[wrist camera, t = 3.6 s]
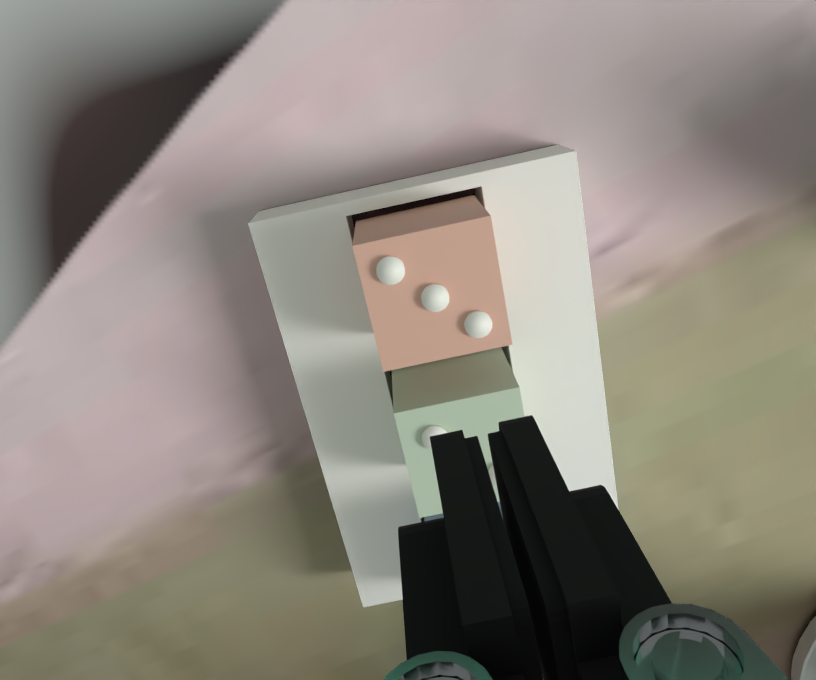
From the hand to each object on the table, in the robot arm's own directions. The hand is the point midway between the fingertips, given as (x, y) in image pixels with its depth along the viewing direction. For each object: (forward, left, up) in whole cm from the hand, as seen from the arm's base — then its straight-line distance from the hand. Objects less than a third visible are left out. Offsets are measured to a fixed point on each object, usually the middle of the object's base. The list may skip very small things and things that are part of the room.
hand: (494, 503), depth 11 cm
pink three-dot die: (0, 0, -16) cm, 16 cm away
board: (-6, 0, -18) cm, 19 cm away
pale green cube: (-6, 0, -16) cm, 17 cm away
